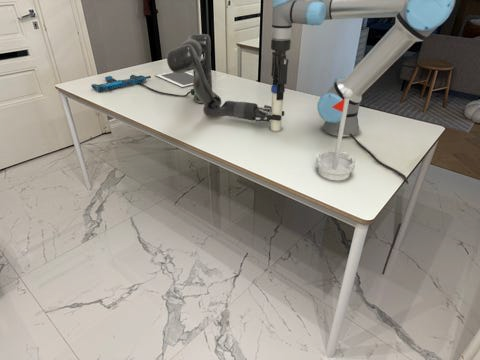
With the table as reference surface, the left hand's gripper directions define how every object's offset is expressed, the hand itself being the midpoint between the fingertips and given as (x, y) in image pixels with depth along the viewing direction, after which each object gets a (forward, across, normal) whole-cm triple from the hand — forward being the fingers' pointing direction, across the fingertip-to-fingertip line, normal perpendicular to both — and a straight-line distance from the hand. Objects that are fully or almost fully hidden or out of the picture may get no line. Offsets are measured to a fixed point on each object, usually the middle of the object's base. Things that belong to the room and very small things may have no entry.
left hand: (282, 115), depth 147 cm
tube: (-3, 0, +6) cm, 7 cm away
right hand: (-3, 0, -8) cm, 9 cm away
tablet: (-79, +53, +6) cm, 96 cm away
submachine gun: (-109, +31, +6) cm, 114 cm away
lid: (-3, 0, -12) cm, 12 cm away
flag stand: (+27, -29, +6) cm, 40 cm away
